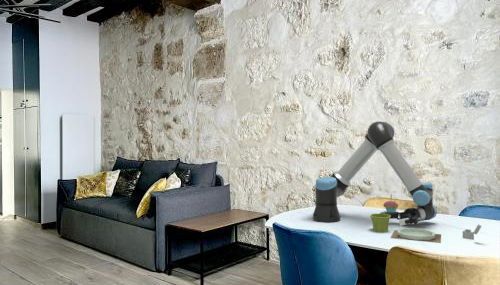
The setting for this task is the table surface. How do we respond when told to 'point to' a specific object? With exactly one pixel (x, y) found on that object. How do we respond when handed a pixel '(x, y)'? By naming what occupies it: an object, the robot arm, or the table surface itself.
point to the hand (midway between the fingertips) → (387, 220)
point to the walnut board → (435, 240)
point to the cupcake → (391, 206)
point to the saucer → (416, 234)
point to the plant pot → (380, 222)
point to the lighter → (469, 234)
